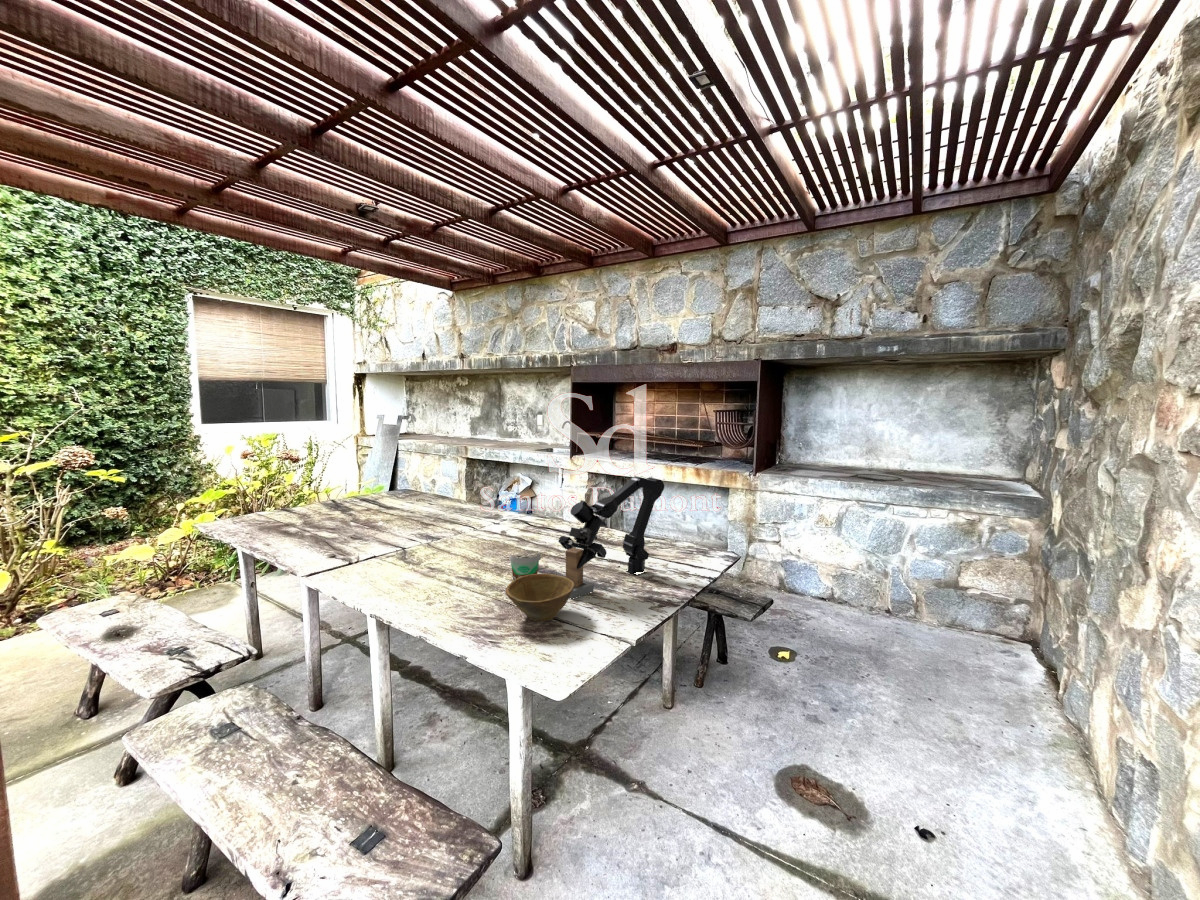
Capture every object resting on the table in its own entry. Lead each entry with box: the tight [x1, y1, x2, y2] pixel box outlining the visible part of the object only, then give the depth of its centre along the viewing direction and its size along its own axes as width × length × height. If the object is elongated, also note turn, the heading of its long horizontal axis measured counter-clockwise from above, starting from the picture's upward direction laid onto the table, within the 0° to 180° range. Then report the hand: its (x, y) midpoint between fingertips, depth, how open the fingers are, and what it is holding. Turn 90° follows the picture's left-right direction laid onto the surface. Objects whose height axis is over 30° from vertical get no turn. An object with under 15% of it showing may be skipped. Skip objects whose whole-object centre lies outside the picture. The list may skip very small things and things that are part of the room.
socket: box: [569, 579, 595, 600], centre depth 180 cm, size 10×10×3 cm
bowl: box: [505, 572, 574, 623], centre depth 160 cm, size 22×23×10 cm
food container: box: [508, 552, 542, 581], centre depth 189 cm, size 12×6×10 cm, turn 105°
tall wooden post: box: [565, 547, 584, 588], centre depth 179 cm, size 4×4×13 cm
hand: (572, 566), depth 177 cm, fingers closed on tall wooden post, 4 cm apart
